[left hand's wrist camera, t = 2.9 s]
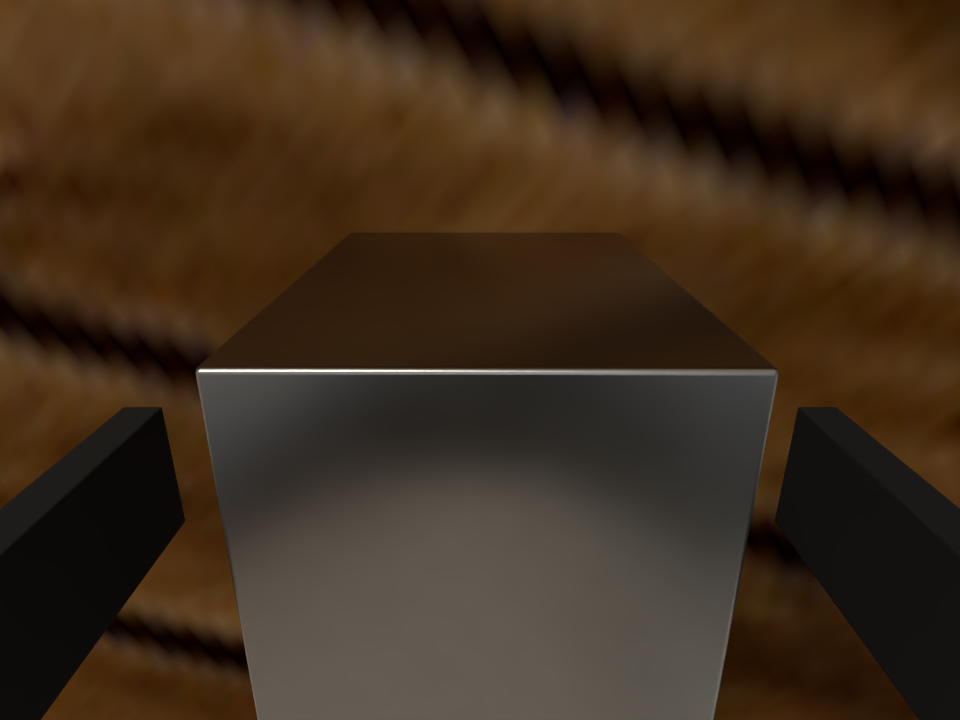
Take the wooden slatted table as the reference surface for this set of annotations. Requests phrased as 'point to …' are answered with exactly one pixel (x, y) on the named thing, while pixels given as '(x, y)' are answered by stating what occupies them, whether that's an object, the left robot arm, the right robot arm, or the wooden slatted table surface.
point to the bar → (486, 482)
